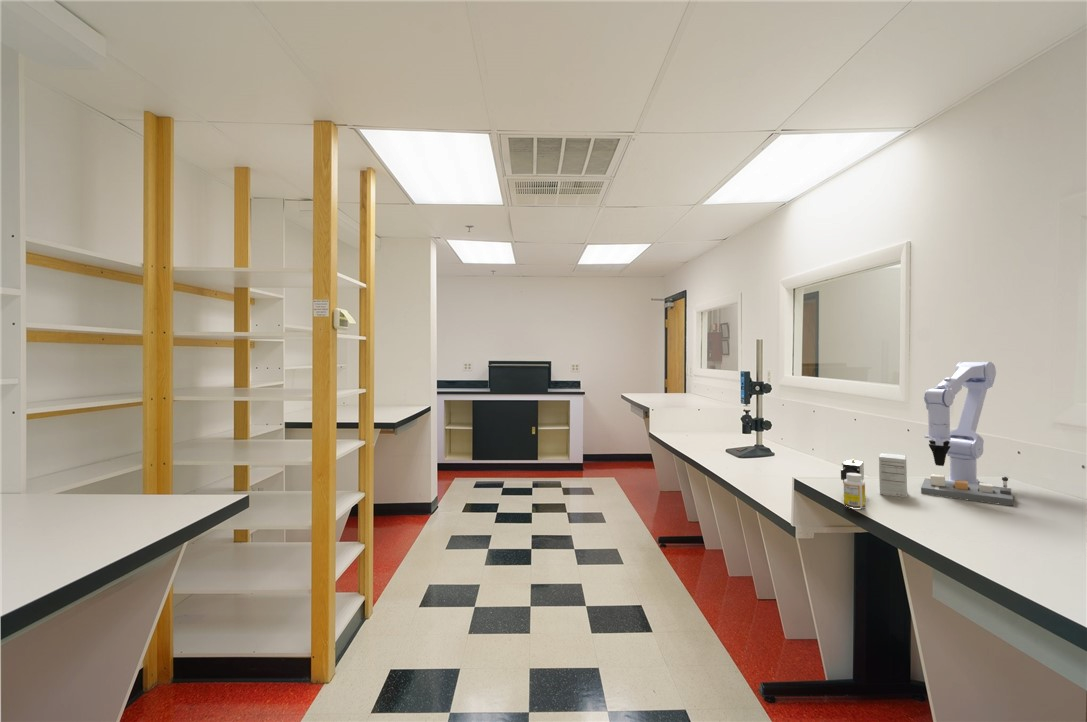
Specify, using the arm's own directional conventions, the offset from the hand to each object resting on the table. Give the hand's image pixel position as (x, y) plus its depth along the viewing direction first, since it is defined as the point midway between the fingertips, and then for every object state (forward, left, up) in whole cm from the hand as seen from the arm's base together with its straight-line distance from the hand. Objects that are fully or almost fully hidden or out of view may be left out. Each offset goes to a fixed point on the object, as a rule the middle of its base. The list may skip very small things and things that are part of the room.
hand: (939, 463), depth 168 cm
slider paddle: (+5, 0, -6) cm, 8 cm away
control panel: (+4, +7, -8) cm, 12 cm away
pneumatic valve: (+26, -21, -9) cm, 35 cm away
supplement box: (+16, -11, -9) cm, 22 cm away
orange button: (+4, +6, -7) cm, 10 cm away
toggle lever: (+4, +16, -5) cm, 18 cm away
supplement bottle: (+40, -18, -9) cm, 45 cm away
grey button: (+4, +12, -7) cm, 14 cm away
